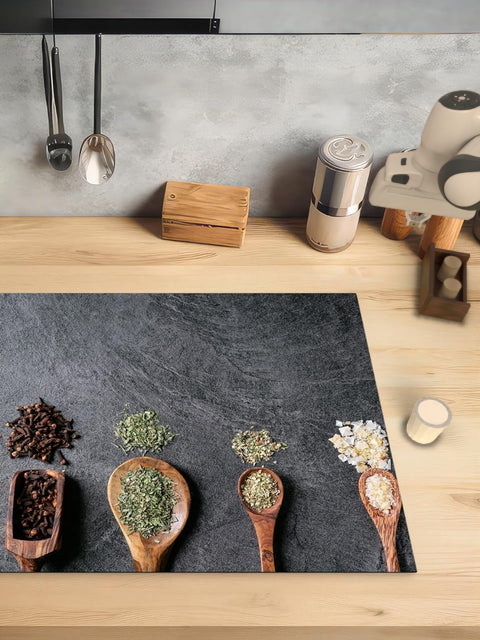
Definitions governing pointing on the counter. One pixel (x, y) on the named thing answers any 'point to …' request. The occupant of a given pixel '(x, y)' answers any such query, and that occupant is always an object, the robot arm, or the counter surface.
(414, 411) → the shot glass
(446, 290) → the spice rack
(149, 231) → the counter surface
